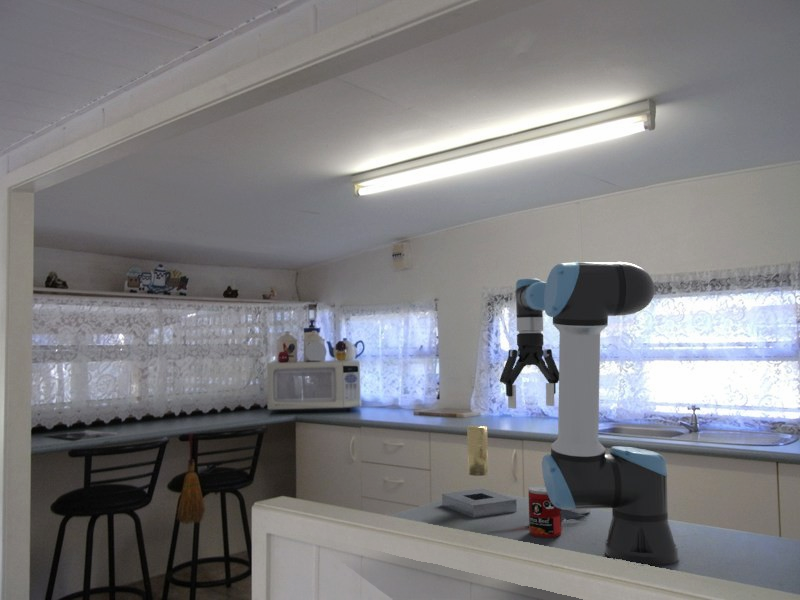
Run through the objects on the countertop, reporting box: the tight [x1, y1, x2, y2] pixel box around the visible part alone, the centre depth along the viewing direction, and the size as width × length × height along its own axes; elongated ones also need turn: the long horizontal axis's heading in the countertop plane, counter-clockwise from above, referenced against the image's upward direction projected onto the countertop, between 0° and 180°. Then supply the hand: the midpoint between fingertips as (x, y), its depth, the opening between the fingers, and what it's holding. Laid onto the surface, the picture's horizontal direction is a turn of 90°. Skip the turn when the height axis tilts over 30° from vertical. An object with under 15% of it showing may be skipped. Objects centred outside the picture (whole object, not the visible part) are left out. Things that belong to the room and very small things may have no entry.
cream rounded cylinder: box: [466, 425, 489, 477], centre depth 190 cm, size 6×6×13 cm
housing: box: [441, 488, 518, 519], centre depth 189 cm, size 16×14×4 cm
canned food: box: [528, 484, 563, 539], centre depth 168 cm, size 8×8×11 cm
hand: (531, 407), depth 194 cm, fingers open, 13 cm apart
